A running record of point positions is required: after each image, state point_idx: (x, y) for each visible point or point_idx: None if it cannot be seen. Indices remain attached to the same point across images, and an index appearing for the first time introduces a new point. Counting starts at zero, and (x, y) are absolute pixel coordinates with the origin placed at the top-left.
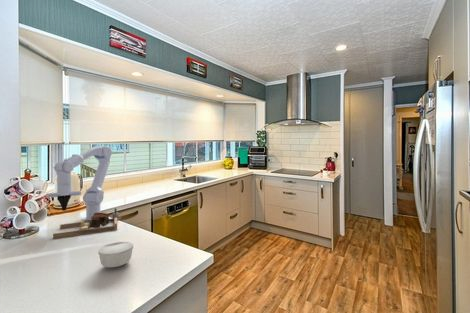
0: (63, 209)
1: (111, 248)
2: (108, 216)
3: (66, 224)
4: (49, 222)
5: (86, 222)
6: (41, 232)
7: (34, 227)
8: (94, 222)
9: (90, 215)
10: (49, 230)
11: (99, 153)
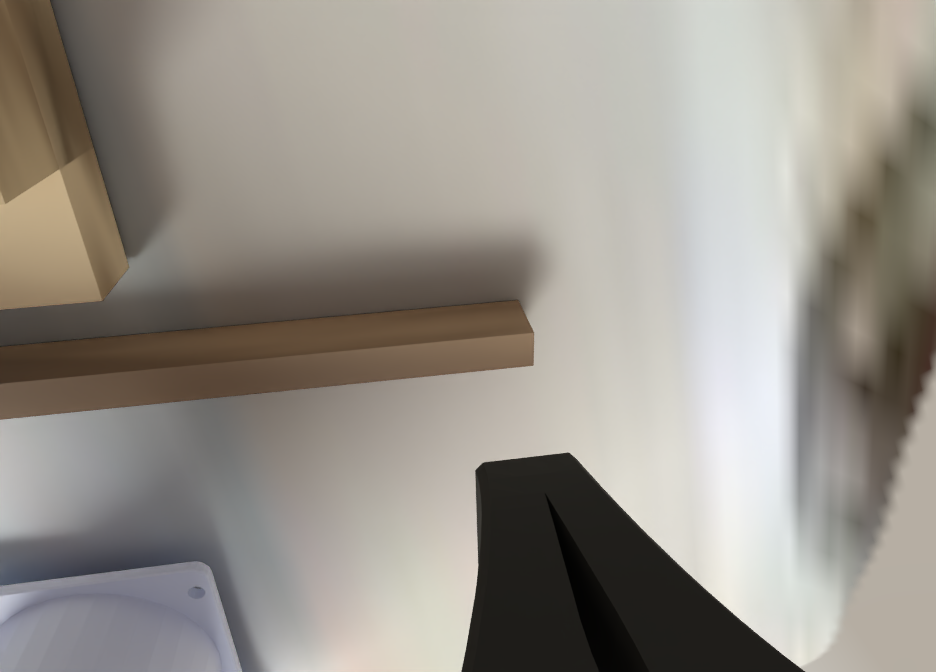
0: (550, 475)
1: None
2: None
3: (432, 339)
4: None
5: (25, 303)
6: (766, 209)
7: (844, 508)
8: None
9: (93, 657)
10: (665, 279)
11: None
